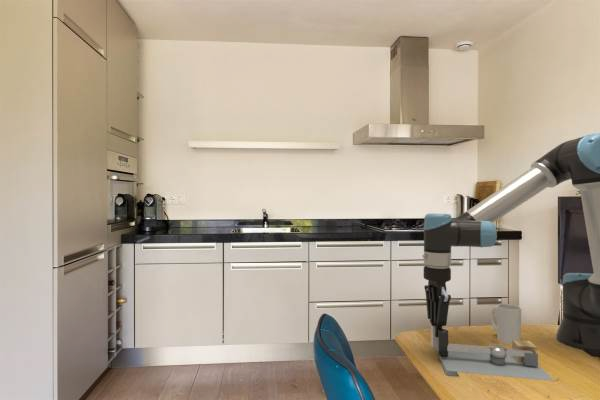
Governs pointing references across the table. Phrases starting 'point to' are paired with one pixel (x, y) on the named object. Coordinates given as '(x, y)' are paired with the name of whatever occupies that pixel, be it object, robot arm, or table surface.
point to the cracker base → (489, 366)
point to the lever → (485, 350)
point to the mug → (507, 322)
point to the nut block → (522, 347)
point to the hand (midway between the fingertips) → (436, 346)
